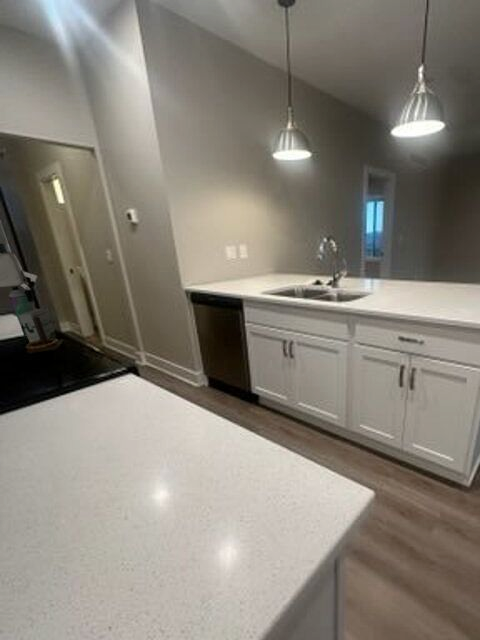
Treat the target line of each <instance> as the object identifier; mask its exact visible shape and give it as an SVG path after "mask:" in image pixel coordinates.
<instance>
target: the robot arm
mask: <svg viewBox="0 0 480 640" xmlns="http://www.w3.org/2000/svg"><path fill="white" fill-rule="evenodd" d="M27 278H29V279H30V282H27ZM37 280H38V275H36V274H33V273H30V272H28V271H24V270H23V268H22V266H21V264H20V262H19V259H18V258H17V255H16V254H15V253H13V252H12V250H11V247H10V245H9V242H8V238H7V236H6V233H5V230H4V227H3V224H2V220H1V219H0V288H5V287H13V286H20V287H22V288H23V289H24V291H25V294H26V297H27V300H28V302H30V303H32V302H34V299H35V296H34V292H33V288H34V287H35V285H36V284H37Z"/></svg>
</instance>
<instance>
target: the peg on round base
mask: <svg viewBox="0 0 480 640" xmlns="http://www.w3.org/2000/svg"><path fill="white" fill-rule="evenodd" d="M33 321H34V324H35V327H36V329H37V332H38V335H39V338H40V340H41V343H38V344H35V345H32V346H39V345H44V344H48V343H50V342H48V340H47V337H46V334H45V331H44V329H43V326H42V323H41V320H40V317H36V318H33ZM57 340H58V342H57V343H56V344H55V345H52V346H50V347H46V348H42V349H36V350H29V349H27V351H26V353H27V354H35V353H42V352H49V351H54V350H59V348H60V347H61V346H62V345H63V343H64V342H65V341H64V338H63V339H57Z"/></svg>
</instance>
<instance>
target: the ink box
mask: <svg viewBox="0 0 480 640" xmlns="http://www.w3.org/2000/svg"><path fill="white" fill-rule="evenodd" d="M19 317H20V319H21V322H22V324H23V327H24V329H25V332H26V334H27V337H26V338H27V339H28V341H29V342H28V343H30V342H33V341H36V340H40V338H39V335H38V332H37V329H36V327H35V324H34V321H33V318H36V317H40V320H41V323H42V326H43V329H44V331H45V334H46V337H47V338H55V339H56V338H57V337H58V336H57V333H56V331H55V328H54V325H53V323H52V319H51V316H50V314H49V311H48V308H46V307H44V308H34V309H32V311H29V312H26V313H23V314H20V315H19Z"/></svg>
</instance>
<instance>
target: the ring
mask: <svg viewBox="0 0 480 640" xmlns="http://www.w3.org/2000/svg"><path fill="white" fill-rule="evenodd" d="M47 340H48V342H50V343H48V344H44V345H39V346H33V345H35V344H38V343H41V340H36V341H33V342H28V343H27V344H26V345H25V346H24V347H25V349H27V350H36V349H42V348H46V347H50V346H52V345H55V344H56V343H57V342H58V340H59V339H57V338H56V337H55V338H47Z"/></svg>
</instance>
